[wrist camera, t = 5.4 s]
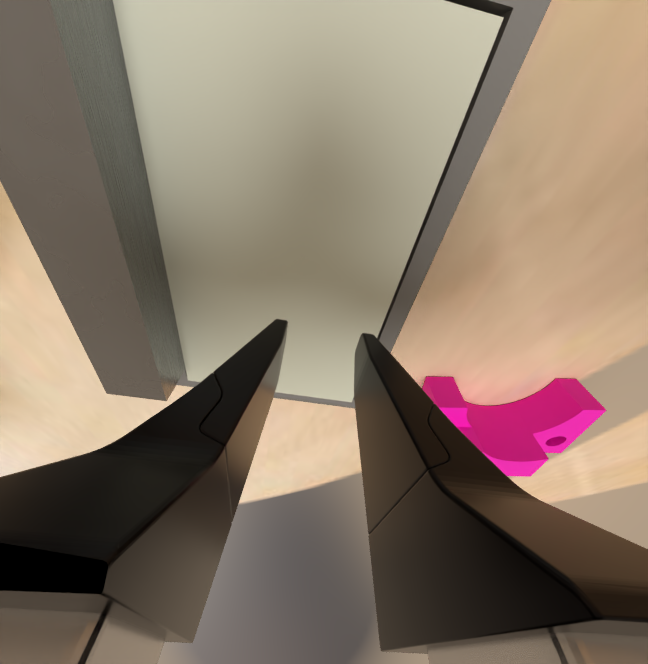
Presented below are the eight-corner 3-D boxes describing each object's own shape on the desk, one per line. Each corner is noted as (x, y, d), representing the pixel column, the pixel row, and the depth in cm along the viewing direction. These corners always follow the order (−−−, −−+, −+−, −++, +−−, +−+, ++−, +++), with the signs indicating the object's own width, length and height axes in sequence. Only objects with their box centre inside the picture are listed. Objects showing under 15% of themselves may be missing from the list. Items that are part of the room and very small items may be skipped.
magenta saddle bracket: (426, 474, 27) (447, 432, 22) (411, 419, 32) (426, 376, 27) (577, 477, 26) (631, 435, 22) (539, 422, 31) (576, 378, 27)
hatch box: (472, 28, 13) (568, -37, 7) (357, 352, 25) (364, 409, 20) (163, -59, 11) (25, -210, 6) (207, 329, 24) (173, 384, 19)
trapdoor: (493, 23, 8) (562, -20, 6) (351, 395, 19) (353, 434, 17) (-24, -124, 7) (-221, -262, 4) (142, 367, 18) (112, 405, 15)
